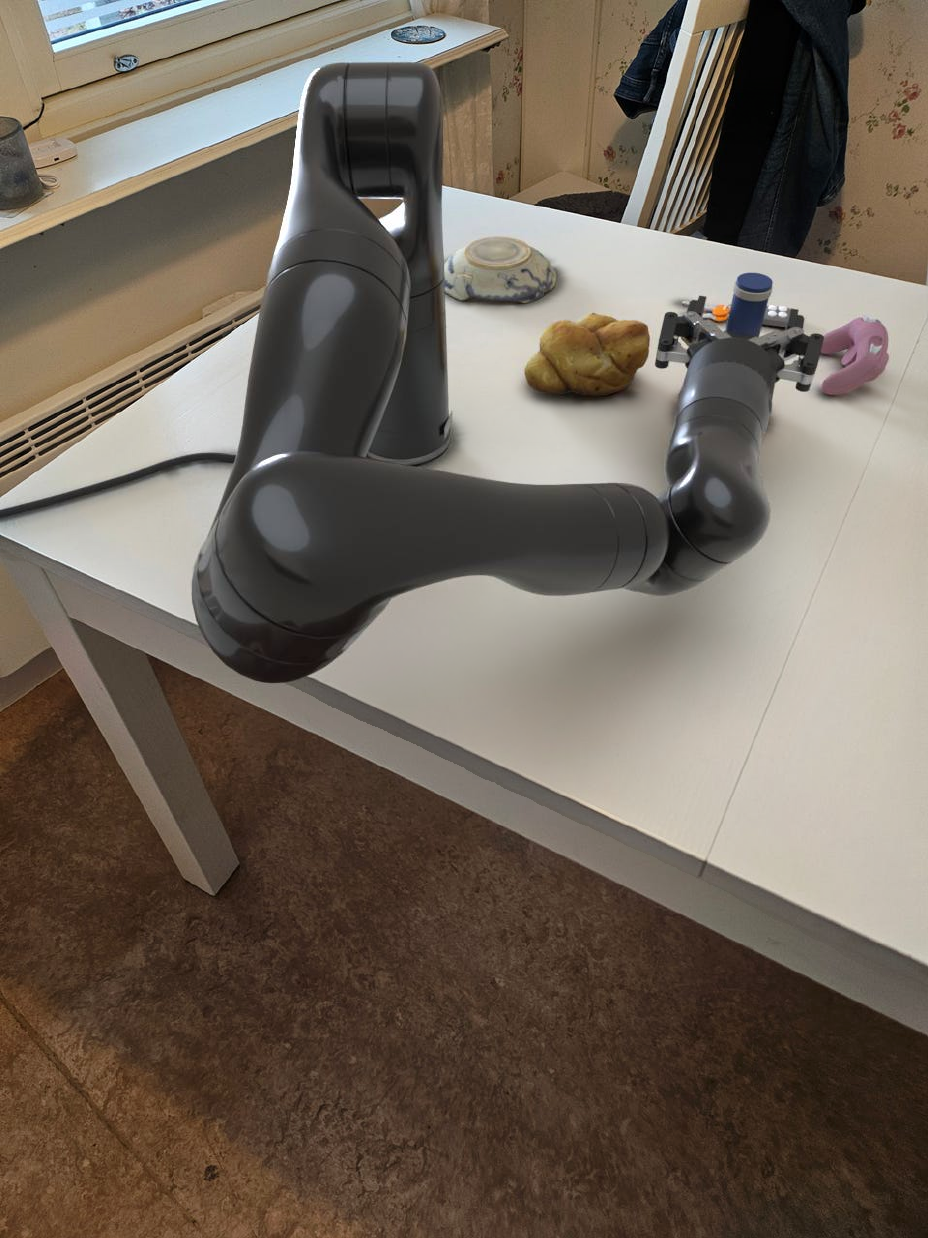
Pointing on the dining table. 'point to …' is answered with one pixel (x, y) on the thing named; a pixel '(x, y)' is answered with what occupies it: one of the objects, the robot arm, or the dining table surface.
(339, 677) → the dining table surface
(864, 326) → the video game controller
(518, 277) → the decorative bowl
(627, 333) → the bread roll
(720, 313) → the key chain
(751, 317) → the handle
